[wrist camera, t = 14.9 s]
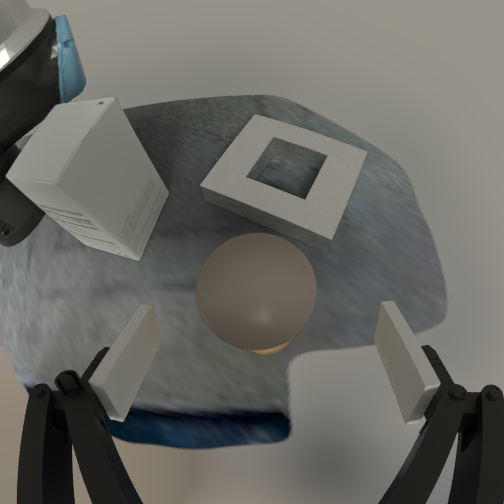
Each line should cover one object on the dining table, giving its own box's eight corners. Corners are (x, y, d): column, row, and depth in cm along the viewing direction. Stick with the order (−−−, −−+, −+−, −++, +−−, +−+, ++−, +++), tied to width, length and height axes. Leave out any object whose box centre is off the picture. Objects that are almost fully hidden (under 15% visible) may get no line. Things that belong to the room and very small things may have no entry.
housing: (206, 201, 31) (199, 185, 29) (256, 131, 35) (254, 114, 32) (326, 253, 28) (331, 239, 25) (361, 168, 32) (367, 151, 29)
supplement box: (114, 184, 34) (55, 101, 20) (171, 192, 33) (119, 92, 19) (83, 246, 31) (2, 176, 17) (140, 264, 29) (54, 182, 16)
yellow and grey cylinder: (222, 340, 25) (174, 312, 14) (253, 286, 27) (232, 216, 15) (280, 370, 24) (282, 371, 12) (309, 313, 26) (335, 261, 14)
